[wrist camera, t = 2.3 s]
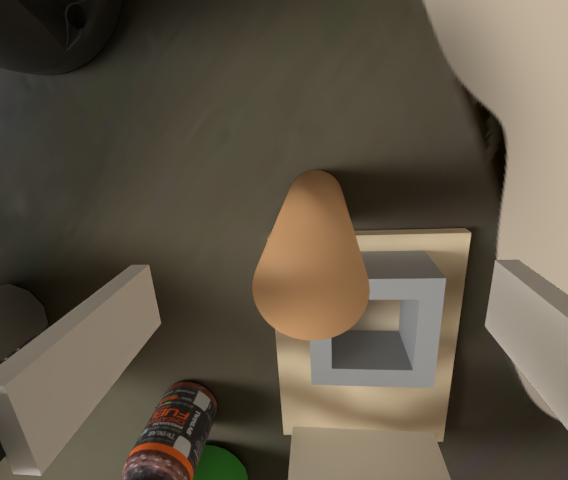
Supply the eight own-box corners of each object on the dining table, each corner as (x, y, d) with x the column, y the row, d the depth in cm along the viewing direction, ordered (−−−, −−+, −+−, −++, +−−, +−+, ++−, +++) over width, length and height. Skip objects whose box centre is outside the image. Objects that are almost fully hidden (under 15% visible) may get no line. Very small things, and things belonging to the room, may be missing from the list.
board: (269, 232, 29) (267, 237, 28) (465, 228, 27) (471, 232, 26) (284, 424, 36) (283, 434, 35) (439, 431, 35) (443, 441, 34)
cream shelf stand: (282, 360, 32) (257, 528, 19) (447, 363, 30) (544, 550, 17) (288, 435, 35) (270, 623, 22) (437, 442, 34) (512, 649, 21)
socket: (309, 252, 28) (307, 279, 23) (424, 250, 27) (446, 278, 22) (312, 344, 31) (311, 384, 26) (415, 345, 30) (433, 388, 25)
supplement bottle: (204, 372, 35) (154, 483, 25) (227, 415, 37) (190, 535, 26) (155, 385, 36) (88, 495, 26) (180, 425, 38) (126, 543, 28)
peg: (287, 171, 27) (246, 237, 12) (342, 168, 27) (371, 235, 12) (289, 223, 29) (257, 340, 14) (342, 221, 28) (368, 341, 13)
